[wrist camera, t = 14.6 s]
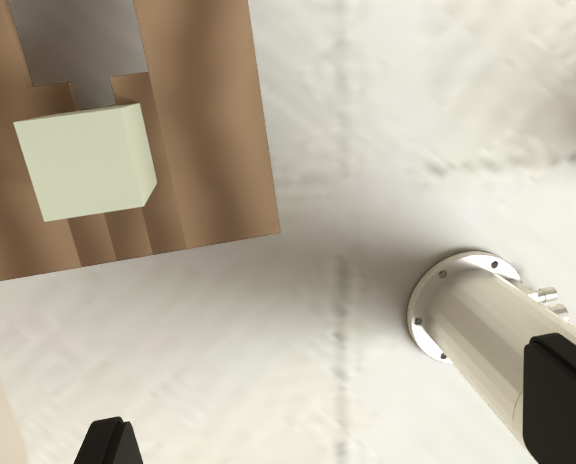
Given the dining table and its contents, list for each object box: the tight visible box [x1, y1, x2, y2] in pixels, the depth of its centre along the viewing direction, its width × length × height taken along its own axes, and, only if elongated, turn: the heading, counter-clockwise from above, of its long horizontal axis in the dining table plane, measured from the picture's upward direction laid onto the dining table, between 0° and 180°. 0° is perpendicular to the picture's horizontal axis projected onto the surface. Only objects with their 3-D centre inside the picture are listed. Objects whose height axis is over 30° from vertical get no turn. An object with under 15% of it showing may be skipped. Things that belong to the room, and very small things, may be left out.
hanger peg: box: [13, 103, 157, 222], centre depth 29 cm, size 5×5×13 cm
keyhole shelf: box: [0, 0, 280, 281], centre depth 32 cm, size 20×22×10 cm
